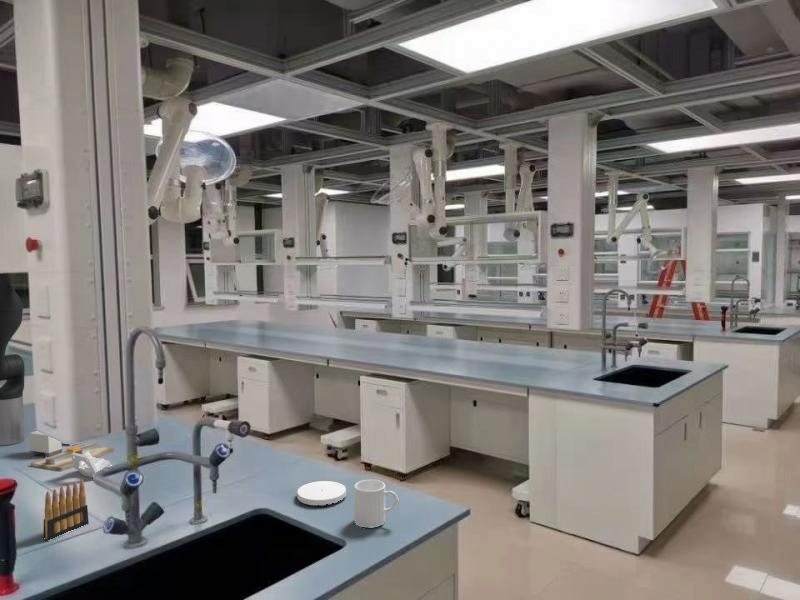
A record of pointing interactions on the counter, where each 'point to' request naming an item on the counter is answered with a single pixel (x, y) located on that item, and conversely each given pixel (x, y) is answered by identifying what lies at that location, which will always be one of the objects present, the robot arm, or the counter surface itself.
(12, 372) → the robot arm
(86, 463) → the mounting bracket
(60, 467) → the rail board
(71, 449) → the block
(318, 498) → the plastic lid
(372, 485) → the mug
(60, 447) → the block
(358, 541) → the counter surface
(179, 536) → the counter surface
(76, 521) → the ammunition clip
